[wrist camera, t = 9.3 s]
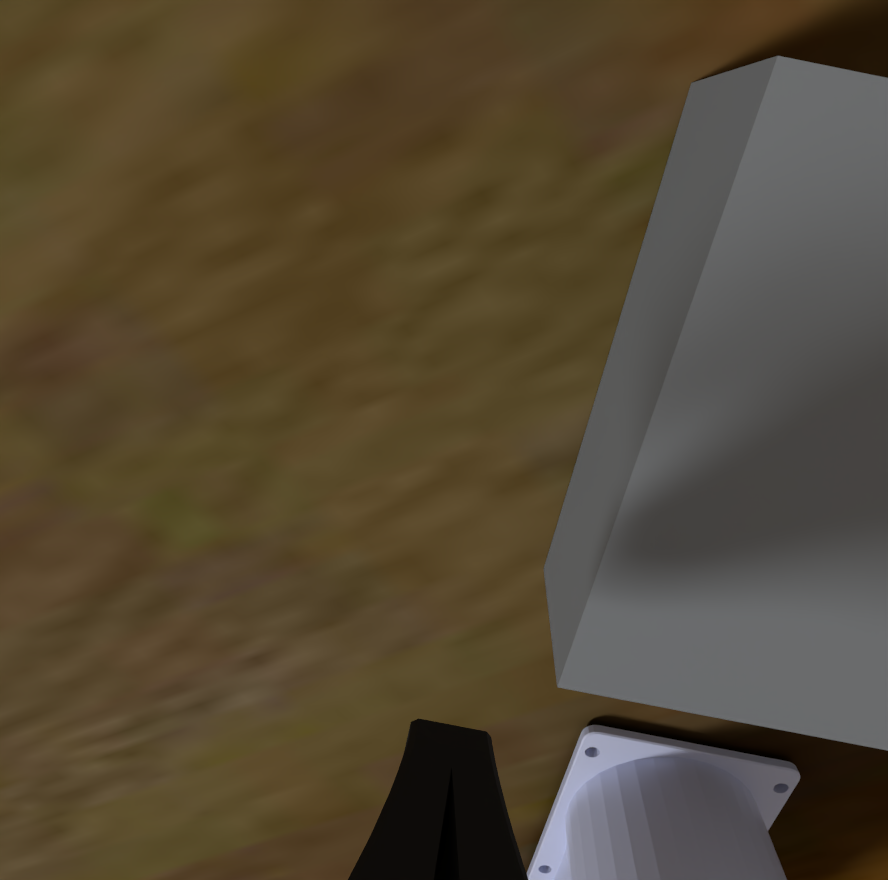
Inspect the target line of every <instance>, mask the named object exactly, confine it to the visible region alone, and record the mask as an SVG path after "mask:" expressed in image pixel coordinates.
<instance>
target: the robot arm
mask: <svg viewBox="0 0 888 880" xmlns="http://www.w3.org/2000/svg"><path fill="white" fill-rule="evenodd" d="M590 747H594V748H590ZM799 780H800V773H799V771H798V769H797V767H796V766H795V765H794V764H793V763H791V762H788V761H784V760H778V759H773V758H768V757H763V756H757V755H752V754H747V753H742V752H737V751H731V750H726V749H721V748H716V747H710V746H705V745H700V744H695V743H690V742H684V741H679V740H674V739H669V738H663V737H658V736H653V735H648V734H642V733H637V732H632V731H627V730H622V729H616V728H611V727H606V726H601V725H590V726H587V727H586V728H584V729H583V730H582V732H581V734H580V737H579V739H578V742H577V745H576V747H575V750H574V752H573V755H572V758H571V760H570V763H569V765H568V768H567V770H566V773H565V776H564V778H563V781H562V783H561V786H560V789H559V791H558V794H557V796H556V799H555V801H554V804H553V807H552V809H551V812H550V814H549V817H548V820H547V822H546V825H545V827H544V830H543V832H542V835H541V838H540V840H539V843H538V845H537V848H536V851H535V853H534V856H533V858H532V861H531V864H530V866H529V869H528V871H527V874H526V871H525V868H524V865H523V862H522V859H521V856H520V852H519V849H518V846H517V843H516V840H515V836H514V833H513V830H512V826H511V823H510V819H509V816H508V812H507V808H506V805H505V801H504V797H503V793H502V789H501V785H500V781H499V777H498V772H497V767H496V763H495V757H494V752H493V746H492V740H491V737H490V735H489V734H488V733H487V732H486V731H480V730H475V729H470V728H465V727H459V726H454V725H449V724H444V723H438V722H433V721H428V720H423V719H417V720H415V721H412V722H411V724H410V729H409V733H408V738H407V742H406V747H405V751H404V755H403V758H402V761H401V764H400V767H399V770H398V773H397V775H396V778H395V780H394V783H393V786H392V788H391V791H390V793H389V796H388V798H387V800H386V802H385V805H384V807H383V809H382V811H381V814H380V816H379V818H378V820H377V823H376V825H375V827H374V829H373V832H372V834H371V836H370V838H369V840H368V842H367V844H366V846H365V848H364V850H363V852H362V854H361V856H360V857H359V859H358V861H357V863H356V865H355V867H354V869H353V871H352V873H351V875H350V877H349V879H348V880H787V879H786V876H785V874H784V871H783V869H782V866H781V863H780V861H779V858H778V856H777V853H776V851H775V848H774V846H773V843H772V841H771V838H770V836H769V833H768V830H769V829H770V827H771V825H772V824H773V822H774V821H775V819H776V817H777V816H778V814H779V813H780V811H781V809H782V808H783V806H784V805H785V803H786V801H787V800H788V798H789V797H790V795H791V793H792V792H793V790H794V788H795V787H796V785H797V784H798V782H799Z"/></svg>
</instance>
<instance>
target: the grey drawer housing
mask: <svg viewBox="0 0 888 880" xmlns="http://www.w3.org/2000/svg"><path fill="white" fill-rule="evenodd" d="M544 576H545V585H546V593H547V602H548V611H549V619H550V628H551V637H552V645H553V654H554V663H555V671H556V680H557V687H559V688H564V689H570V690H575V691H580V692H585V693H590V694H596V695H601V696H606V697H611V698H616V699H622V700H627V701H632V702H637V703H642V704H648V705H653V706H658V707H663V708H669V709H674V710H679V711H684V712H689V713H695V714H700V715H705V716H710V717H715V718H721V719H726V720H731V721H736V722H741V723H747V724H752V725H757V726H762V727H768V728H773V729H778V730H783V731H788V732H794V733H799V734H804V735H809V736H814V737H820V738H825V739H830V740H835V741H840V742H846V743H851V744H856V745H861V746H867V747H872V748H877V749H882V750H887V751H888V78H886V77H881V76H876V75H871V74H866V73H861V72H856V71H851V70H846V69H841V68H836V67H831V66H827V65H822V64H817V63H812V62H807V61H802V60H797V59H792V58H787V57H782V56H775V57H772V58H769V59H765V60H762V61H759V62H756V63H753V64H750V65H746V66H743V67H740V68H737V69H734V70H731V71H727V72H724V73H721V74H718V75H715V76H712V77H708V78H705V79H702V80H699V81H696V82H693V83H691V86H690V89H689V92H688V96H687V99H686V102H685V106H684V109H683V112H682V115H681V119H680V122H679V125H678V129H677V132H676V135H675V138H674V142H673V145H672V148H671V152H670V155H669V158H668V162H667V165H666V168H665V171H664V175H663V178H662V181H661V185H660V188H659V191H658V194H657V198H656V201H655V204H654V208H653V211H652V214H651V217H650V221H649V224H648V227H647V231H646V234H645V237H644V240H643V244H642V247H641V250H640V254H639V257H638V260H637V263H636V267H635V270H634V273H633V277H632V280H631V283H630V286H629V290H628V293H627V296H626V300H625V303H624V306H623V310H622V313H621V316H620V319H619V323H618V326H617V329H616V333H615V336H614V339H613V342H612V346H611V349H610V352H609V356H608V359H607V362H606V365H605V369H604V372H603V375H602V379H601V382H600V385H599V388H598V392H597V395H596V398H595V402H594V405H593V408H592V411H591V415H590V418H589V421H588V425H587V428H586V431H585V435H584V438H583V441H582V444H581V448H580V451H579V454H578V458H577V461H576V464H575V467H574V471H573V474H572V477H571V481H570V484H569V487H568V490H567V494H566V497H565V500H564V504H563V507H562V510H561V513H560V517H559V520H558V523H557V527H556V530H555V533H554V536H553V540H552V543H551V546H550V550H549V553H548V556H547V559H546V563H545V566H544Z"/></svg>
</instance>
